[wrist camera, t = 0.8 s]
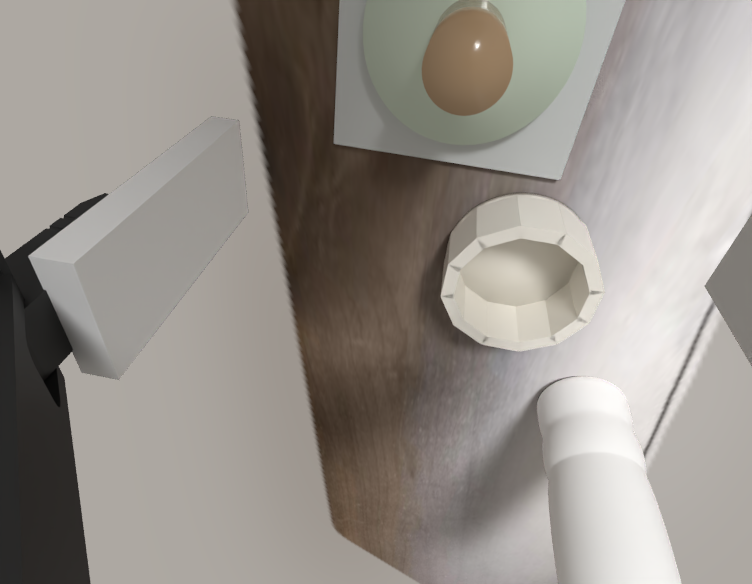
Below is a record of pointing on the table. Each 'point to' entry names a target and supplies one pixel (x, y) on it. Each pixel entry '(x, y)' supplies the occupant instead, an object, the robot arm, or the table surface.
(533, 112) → the lid
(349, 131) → the mat
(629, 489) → the water bottle
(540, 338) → the bowl
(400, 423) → the table surface
